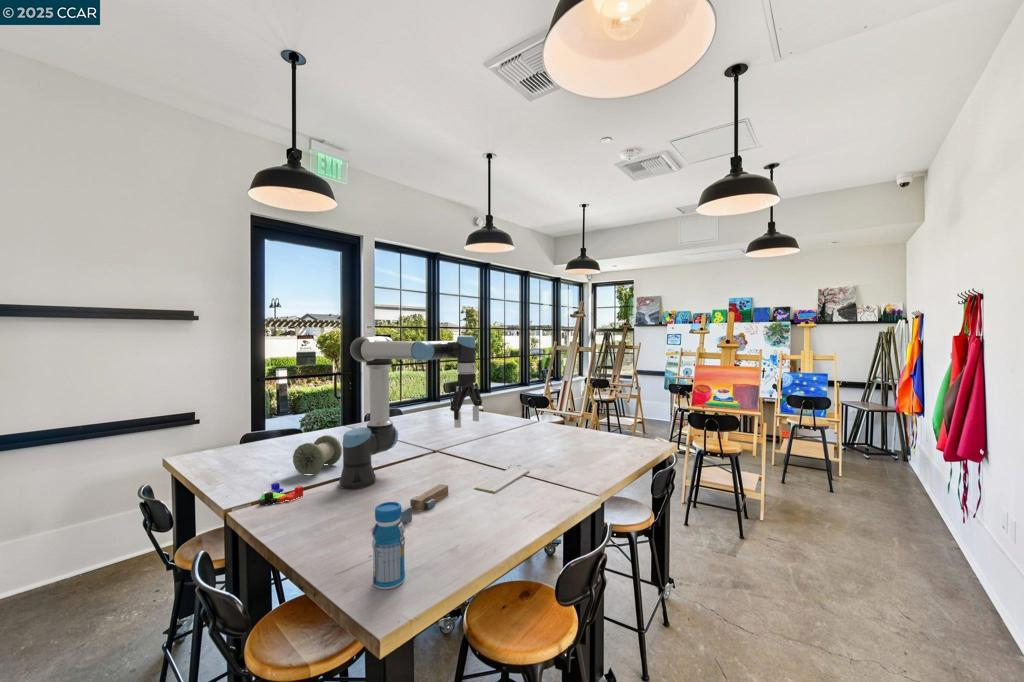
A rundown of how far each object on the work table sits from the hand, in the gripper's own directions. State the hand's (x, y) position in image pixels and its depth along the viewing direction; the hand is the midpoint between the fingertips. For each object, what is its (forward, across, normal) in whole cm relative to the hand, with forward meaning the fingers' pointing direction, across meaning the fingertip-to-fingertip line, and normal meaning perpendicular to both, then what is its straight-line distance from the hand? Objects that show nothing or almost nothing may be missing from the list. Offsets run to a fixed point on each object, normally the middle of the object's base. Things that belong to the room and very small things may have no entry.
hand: (467, 424), depth 176 cm
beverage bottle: (+28, -63, -17) cm, 71 cm away
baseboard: (+29, +19, -6) cm, 35 cm away
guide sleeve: (+28, -20, +7) cm, 35 cm away
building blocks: (+29, -41, +64) cm, 81 cm away
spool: (+28, -8, +81) cm, 86 cm away
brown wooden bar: (+28, -15, +7) cm, 33 cm away
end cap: (+28, -35, +7) cm, 46 cm away
